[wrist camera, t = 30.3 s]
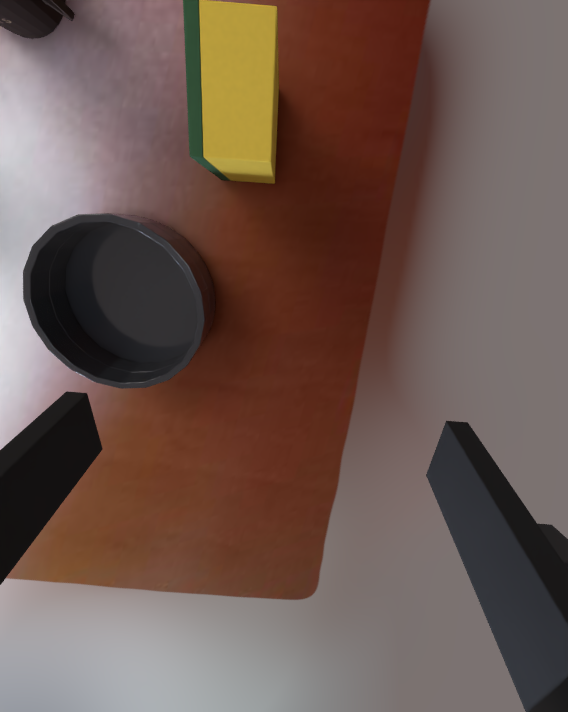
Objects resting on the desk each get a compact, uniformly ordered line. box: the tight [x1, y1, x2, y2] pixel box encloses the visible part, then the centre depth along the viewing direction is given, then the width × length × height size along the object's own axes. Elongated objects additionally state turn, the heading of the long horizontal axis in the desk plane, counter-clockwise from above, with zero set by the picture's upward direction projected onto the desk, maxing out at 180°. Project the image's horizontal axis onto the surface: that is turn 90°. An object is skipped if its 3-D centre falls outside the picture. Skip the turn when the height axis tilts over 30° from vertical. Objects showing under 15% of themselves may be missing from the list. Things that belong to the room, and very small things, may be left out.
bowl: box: [23, 213, 215, 388], centre depth 31 cm, size 15×15×6 cm
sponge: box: [183, 0, 279, 184], centre depth 23 cm, size 5×7×11 cm
